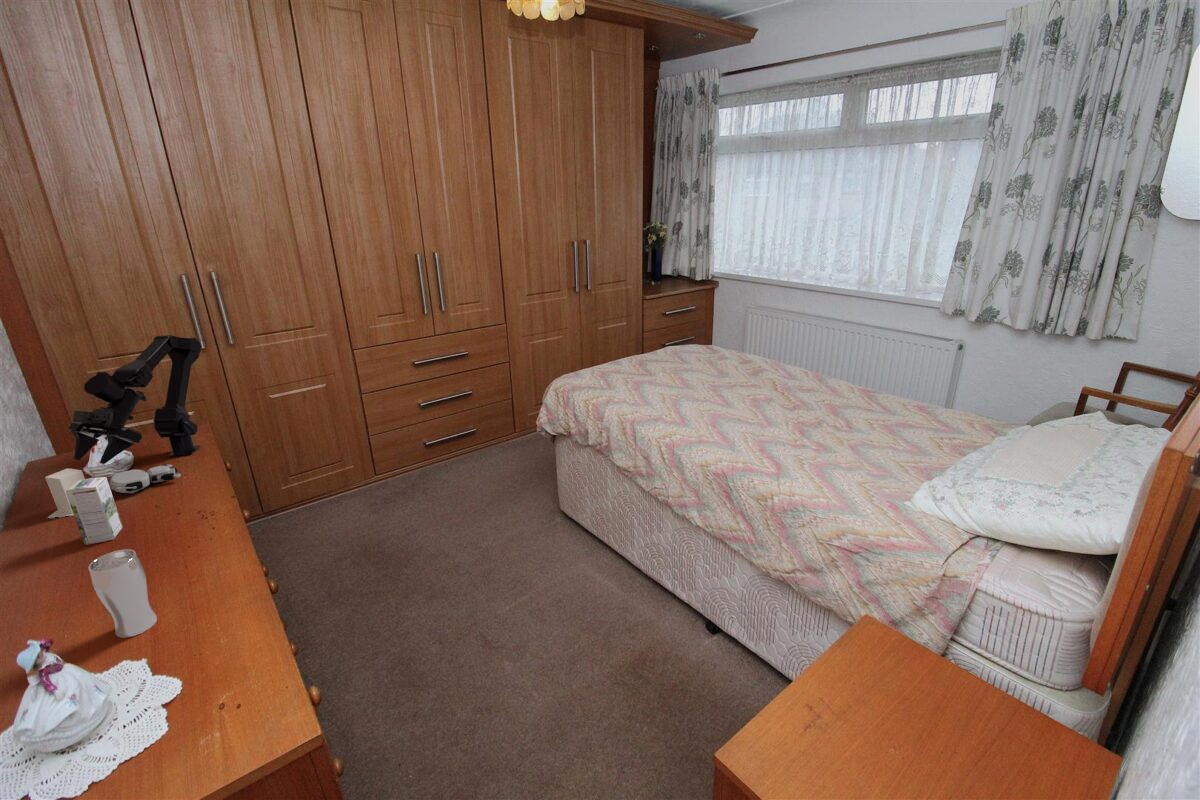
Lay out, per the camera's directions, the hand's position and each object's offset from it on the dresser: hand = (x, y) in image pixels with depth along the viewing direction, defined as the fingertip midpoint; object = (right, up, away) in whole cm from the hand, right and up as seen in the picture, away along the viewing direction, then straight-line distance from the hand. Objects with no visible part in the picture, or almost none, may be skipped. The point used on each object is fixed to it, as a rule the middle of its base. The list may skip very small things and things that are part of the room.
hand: (89, 461), depth 144 cm
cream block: (-1, -12, -2) cm, 12 cm away
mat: (-1, -12, -2) cm, 13 cm away
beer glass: (+49, -27, -42) cm, 70 cm away
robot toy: (+7, -8, +10) cm, 15 cm away
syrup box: (+17, -17, -14) cm, 28 cm away
